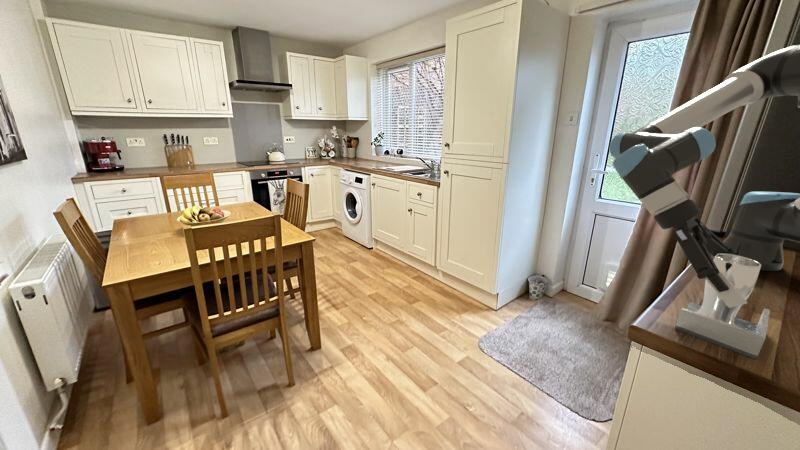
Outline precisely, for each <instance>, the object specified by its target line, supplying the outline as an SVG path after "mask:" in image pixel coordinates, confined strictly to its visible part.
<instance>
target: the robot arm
mask: <svg viewBox="0 0 800 450" xmlns="http://www.w3.org/2000/svg"><path fill="white" fill-rule="evenodd" d="M784 96H785V97H789V96H797V108H799V109H800V44H795V45H791V46H788V47H787V46H786V47H785V48H781V49H778V50H776V51H774V52H771V53H769V54H767V55H765V56H763V57H760V58H758V59H756V60H754V61H752V62H750V63H748V64H746V65H744V66H742V67H740V68H737V70H735V71H733V72H731V73H730V74H728V75H727V76H726V77H725V78H724V79H723V81H722V82H721V83H720V84H718V85H716V86H714V87H713V88H711V89H708V90H707V91H704V92H703V93H702V94H699V95H698V96H696V97H694V98H693V99H691V100H689V101H687V102H686V103H683V104H681V105H680V106H678V107H676V108H675V109H673V110H671V111H670V112H668V113H665V114H664V115H662V116H660V117H658V118H656V119H655V120H653V121H652V122H650V123H648V124H646V125H644V126H643V127H640V128H639V129H637V130H635V131H626V132H625V131H624V132H619V133H618V134H616V135H615V136H614V137H613V138H612V139H611V142H610V143H609V153H610V155H611V156H612V157H613V158H614V160H613V162H612V166H613V168H614V169H615V171H616V172H617V173H618V175H619V177H620V178H621V179H622V180H623V182H624V183H625V184H626V185H627V187H628V188H629V189H630V190H631V191H632V193H634V195H635V197H637V198H638V200H639V202H641V205H640V206H641V208H646V210H647V211H648V212H649V213H650V214H651V215H652V214H654V215H653V219H654V221H655V222H656V223H657V224H658V225H659V226H660V228H661V229H662V230H669V229H671V228H674V229H675V230H676V231H674V232H673V233H671V234H672V236H673V238H674V239H675V240H676V241H677V242H678V244H679V246H680V247H681V249H682V251H683V253H684V254H685V257H687V259H688V261H689V263H690V264H691V266H692V268H693V269H694V272H695V273H696V277H697V278H698V279H699V280H702V279H705V281H706V280H707V281H708V282H709V283H710V285H711V286H712V287H713V288H714V290H715V291H716V292H717V293H718V295H719V296H720V297H721V299H722V300H723V301H724V302H725V304H726V305H727V306H728V307H729V308H731V307H735V306H739V305H742V306H743V305H747V304H748V301H747V299H746V300H745V299H744V298H743V296H742V295H741V294H740V293H739V292H738V290H737V289H736V288H735V287H734V285H733V284H732V283H731V282H730V281H729V279H728V278H727V277H726V276H725V275H724V273H723V272H722V271H721V272H719V270H718V268H717V266H716V265H715V263H714V261H713V260H714V258H715V256H716V254H720V253H724V254H733V255H738V256H742V257H746V258H749V259H752V260H755V261H757V262H759V263H760V264H761V268H760V271H765V272H766V271H767V272H779V271H781V270H782V269H783V265H784V249H783V245H784V242H785V240H789V241H792V242H795V243H800V193H798V192H796V193H795V192H781V191H749V192H747V193H745V194H744V195H743V198H742V199H741V201H740V203H739V207H738V210H737V213H736V214H735V215H736V216H735V219H734V221H733V224H732V226H731V230H730V232H729V234H728V235H727V237H725V239H724V240H721V239H720V238H719V237H718V236H717V235H716V234H715V233H713V231H711V229H709V227H707V226H706V225H705V224H704V223H703V222H702V220H701V219H700V218H699V217H698V216H699V215H701V213H702V210H701V208H700V207H699V206H698V205H697V204H696V202H694V200H693V199H691V198H687V197H688V196H689V195H688V194H689V193H687V191H686V190H684V188H683V187H682V186H681V185H680V183H678V181H676V179H675V178H674V177H673V175H675V174H676V173H678V172H681V171H682V170H684V169H686V168H688V167H691V166H692V165H695V164H698V163H699V162H701V160H703V159H705V158H707V157H708V156H710V155H711V154H712V153H714V151H715V149H716V147H717V142H716V137H715V136H714V134H713V133H712V132H711V131H709V130H708V129H706V128H704V126H706V125H707V124H709V123H711V122H713V121H715V120H717V119H718V118H721V117H722V116H724V115H726V114H727V113H730V112H732V111H733V110H735V109H736V108H739V107H741V106H742V107H743V106H744V107H745V106H750V105H752V104H754V103H756V102H758V101H760V100H763V99H767V98H775V97H784ZM712 256H713V257H714V258H713V257H712Z"/></svg>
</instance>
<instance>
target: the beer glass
mask: <svg viewBox="0 0 800 450" xmlns="http://www.w3.org/2000/svg"><path fill="white" fill-rule="evenodd" d="M713 261H714V263H715V265H716V266H717V268H718V270H719V272H721V271H722V272H723V273H724V275H725V276H726V277H727V278H728V279H729V281H730V282H731V283H732V284H733V285H734V287H735V288H736V289H737V290H738V292H739V293H740V294H741V295H742V296H743V298H744V299H745V300H746V301H747V299H749V297H750V296H751V294H752V292H753V290H754V289H755V287H756V283H757V281H758V278H759V275H760V271H761V270H760V268H761V264H760V263H759V262H757V261H755V260H752V259H749V258H746V257H742V256H738V255H733V254H724V253H720V254H716V256H715V257H714V258H713ZM703 290H704V291H703V300H702V302H701V304H700V305H701V307H700V309H699V310H698V312H697V313H699V314H702V315H705V316H708V317H711V318H714V319H717V320H720V321H723V322H725V323H728V324H731V325H734V320H735V317H737V314H738V312H739V310H740V309H741V308H742V306H743V305H739V306H735V307H731V308H729V307H728V306H727V305H726V304H725V302H724V301H723V300H722V299H721V297H720V296H719V295H718V293H717V292H716V291H715V290H714V288H713V287H712V286H711V285H710V283H709V282H708V281H707V280H706V279H705V283H704V289H703Z"/></svg>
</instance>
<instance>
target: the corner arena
mask: <svg viewBox="0 0 800 450" xmlns="http://www.w3.org/2000/svg"><path fill="white" fill-rule="evenodd" d="M701 305H702V304H697V303H694V302H689V303H688V305H687V307H686V308H684V307H681V309H680V313H679V315H678V317H677V321H676V324H675V326H674V329H676V330H678V331H681V332H682V333H685V334H689V335H690V336H694V337H695V338H699V339H701V340H703V341H704V340H705V341H707V342H710V343H711V344H714V345H717V346H719V347H722V348H724V349H727V350H730V351H732V352H735V353H738V354H740V355H743V356H746V357H747V358H750V359H753V360H757V358H758V356H759V354H760V351H761V349H762V348H763V345H764V343H765V340H766V339H767V332H768V326H769V320H770V312H771V309H768V308H763V311H762V313H761V315H760V317H759V320H758V322H757V323H755V322H752V321H749V320H747V319H742V318H740V317H737V316H735V320H734V325H731V324H728V323H725V322H723V321H720V320H717V319H714V318H711V317H708V316H705V315H702V314H699V313H697V312H698V310H699V309H700V307H701Z"/></svg>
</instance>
